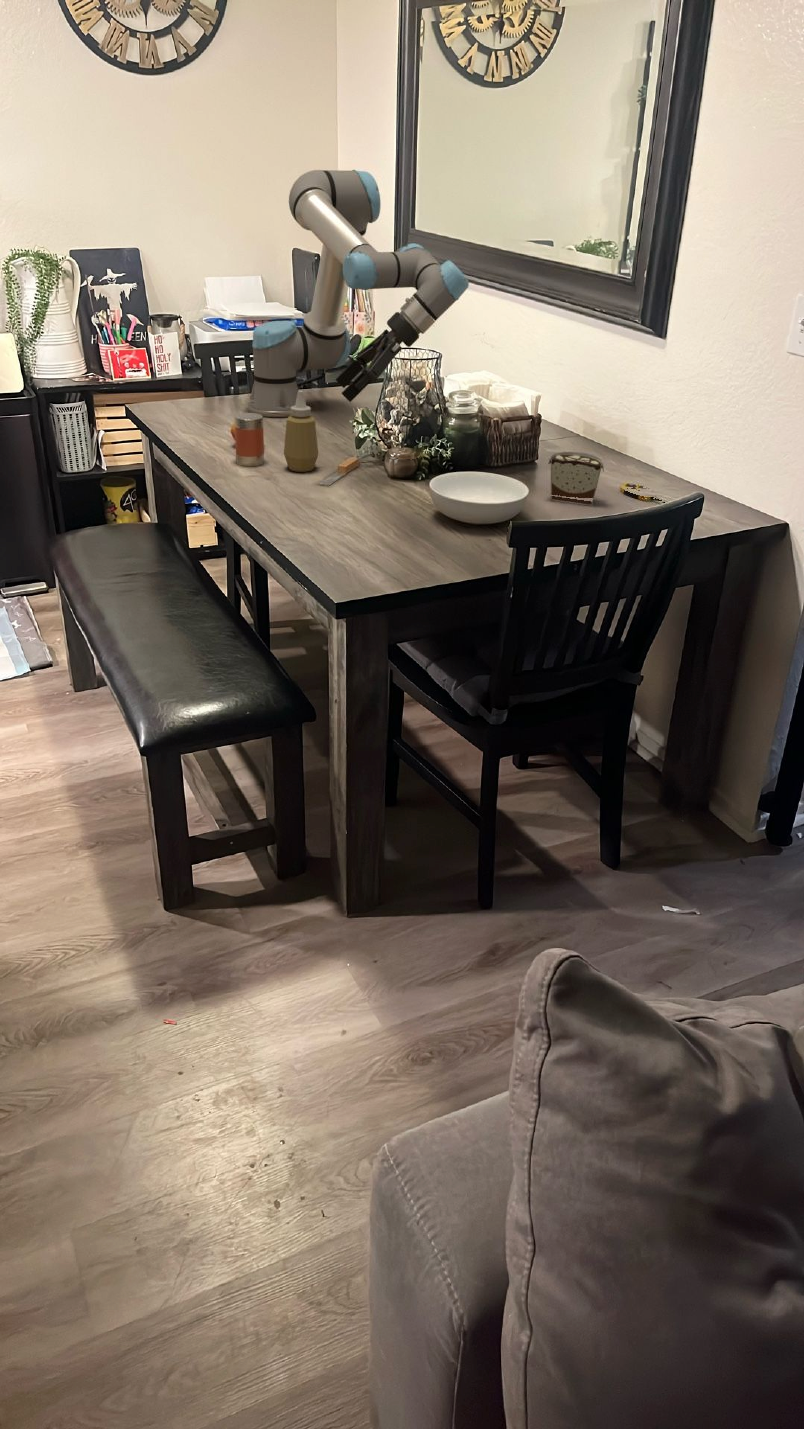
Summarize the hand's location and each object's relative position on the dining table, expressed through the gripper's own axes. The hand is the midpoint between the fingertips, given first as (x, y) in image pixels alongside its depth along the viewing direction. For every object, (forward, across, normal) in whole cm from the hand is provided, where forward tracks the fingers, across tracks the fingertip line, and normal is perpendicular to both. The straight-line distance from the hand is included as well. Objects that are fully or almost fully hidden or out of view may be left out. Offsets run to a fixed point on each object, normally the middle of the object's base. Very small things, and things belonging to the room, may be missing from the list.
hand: (342, 390), depth 245 cm
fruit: (+28, -19, -2) cm, 34 cm away
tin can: (+28, -6, -2) cm, 29 cm away
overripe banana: (-34, +25, +60) cm, 74 cm away
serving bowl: (-5, +36, +31) cm, 48 cm away
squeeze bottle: (+20, 0, +6) cm, 21 cm away
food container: (-22, +25, +48) cm, 59 cm away
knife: (+14, +5, +12) cm, 19 cm away
